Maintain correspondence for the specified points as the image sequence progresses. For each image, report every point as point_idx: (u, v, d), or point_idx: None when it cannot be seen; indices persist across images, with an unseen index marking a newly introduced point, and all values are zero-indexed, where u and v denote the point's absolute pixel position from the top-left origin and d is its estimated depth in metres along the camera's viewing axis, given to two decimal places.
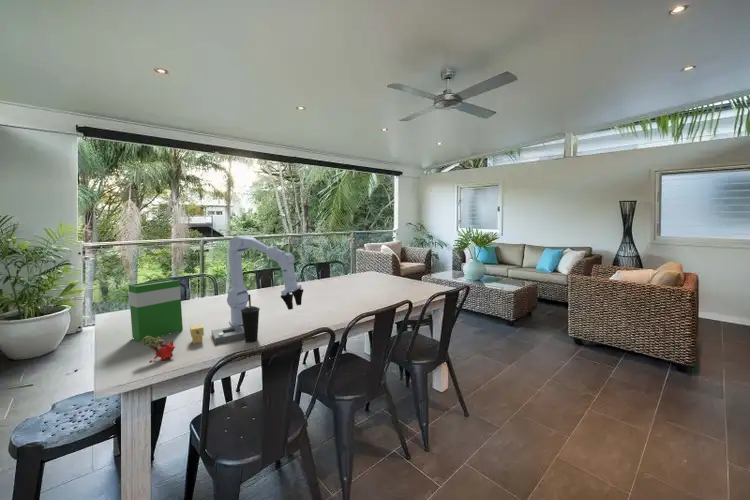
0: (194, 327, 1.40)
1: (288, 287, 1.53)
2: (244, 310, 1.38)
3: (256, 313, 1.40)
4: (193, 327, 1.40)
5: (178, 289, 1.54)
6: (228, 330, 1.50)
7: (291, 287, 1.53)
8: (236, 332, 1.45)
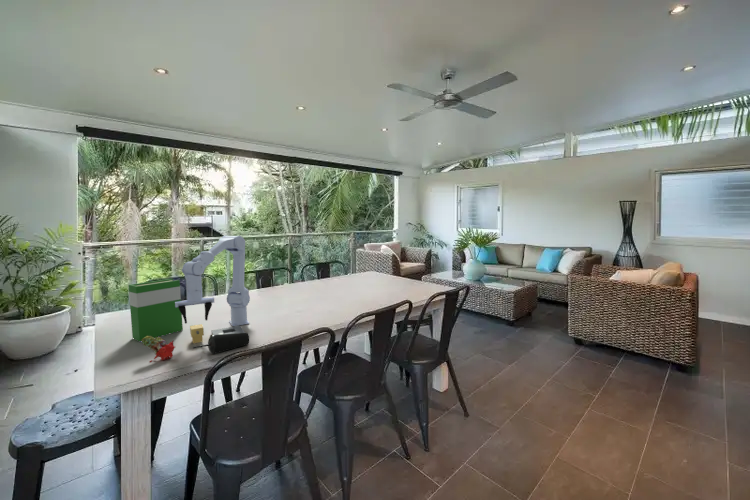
0: (194, 327, 1.40)
1: (187, 299, 1.38)
2: None
3: (216, 352, 1.29)
4: (193, 327, 1.40)
5: (178, 289, 1.54)
6: (228, 330, 1.50)
7: (188, 300, 1.38)
8: (236, 332, 1.45)
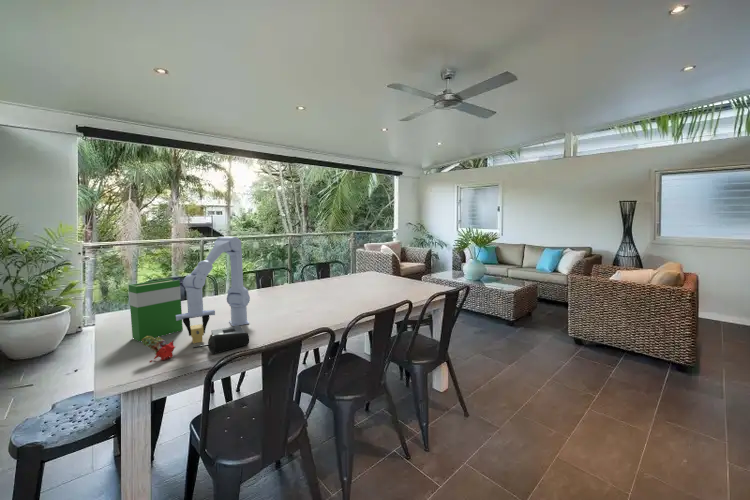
0: (194, 327, 1.40)
1: (188, 312, 1.39)
2: None
3: (216, 352, 1.29)
4: (193, 327, 1.40)
5: (178, 289, 1.54)
6: (228, 330, 1.50)
7: (189, 313, 1.38)
8: (236, 332, 1.45)
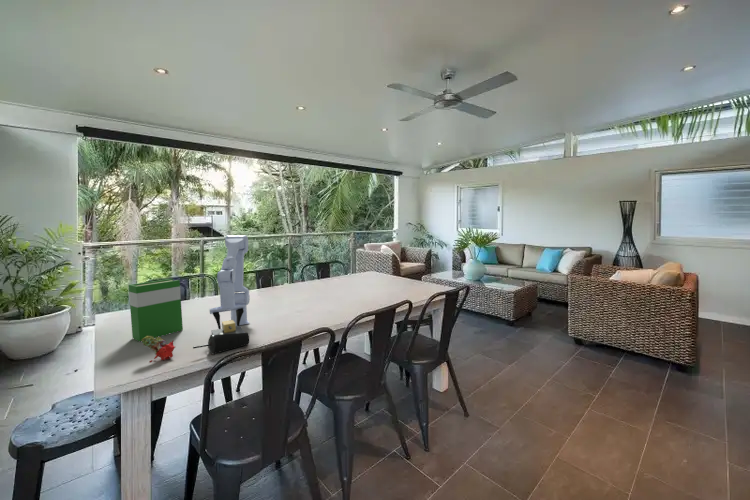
0: (226, 322, 1.46)
1: (221, 306, 1.45)
2: None
3: (216, 352, 1.29)
4: (225, 322, 1.46)
5: (178, 289, 1.54)
6: None
7: (222, 307, 1.44)
8: (236, 332, 1.45)
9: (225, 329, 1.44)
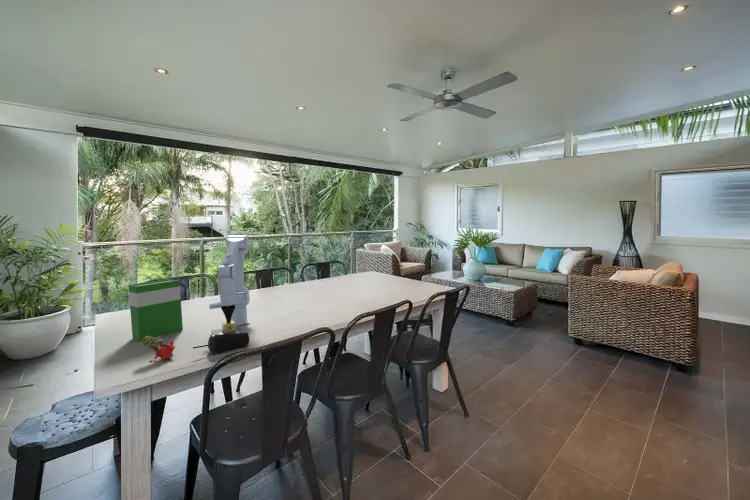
0: (226, 323, 1.46)
1: (220, 301, 1.45)
2: None
3: (216, 352, 1.29)
4: (225, 323, 1.46)
5: (178, 289, 1.54)
6: None
7: (222, 302, 1.44)
8: (236, 332, 1.45)
9: (225, 329, 1.44)
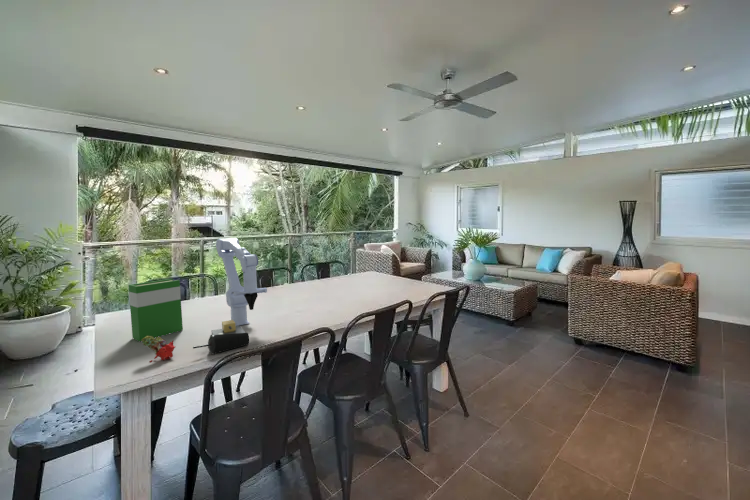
0: (226, 322, 1.46)
1: (244, 289, 1.52)
2: None
3: (216, 352, 1.29)
4: (225, 322, 1.46)
5: (178, 289, 1.54)
6: None
7: (245, 290, 1.52)
8: (236, 332, 1.45)
9: (225, 329, 1.44)
